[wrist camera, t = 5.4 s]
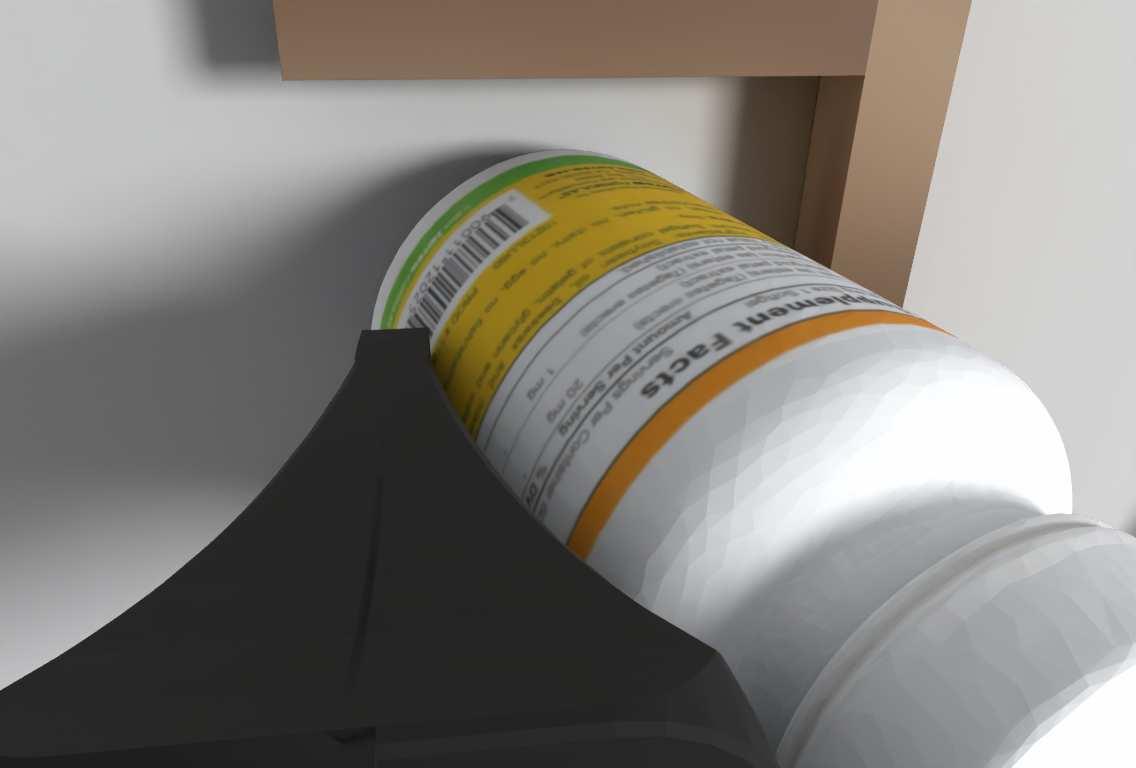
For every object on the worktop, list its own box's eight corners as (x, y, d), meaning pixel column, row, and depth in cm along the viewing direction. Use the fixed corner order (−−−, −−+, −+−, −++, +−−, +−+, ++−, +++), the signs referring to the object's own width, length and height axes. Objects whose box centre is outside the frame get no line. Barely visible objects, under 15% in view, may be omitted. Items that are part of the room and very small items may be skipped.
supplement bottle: (674, 440, 17) (1200, 933, 10) (369, 507, 15) (737, 1217, 7) (712, 128, 15) (1470, 461, 7) (352, 153, 12) (887, 676, 5)
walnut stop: (809, 545, 19) (836, 601, 17) (359, 574, 18) (353, 635, 17) (924, -46, 13) (977, -26, 12) (285, -49, 12) (269, -29, 11)
